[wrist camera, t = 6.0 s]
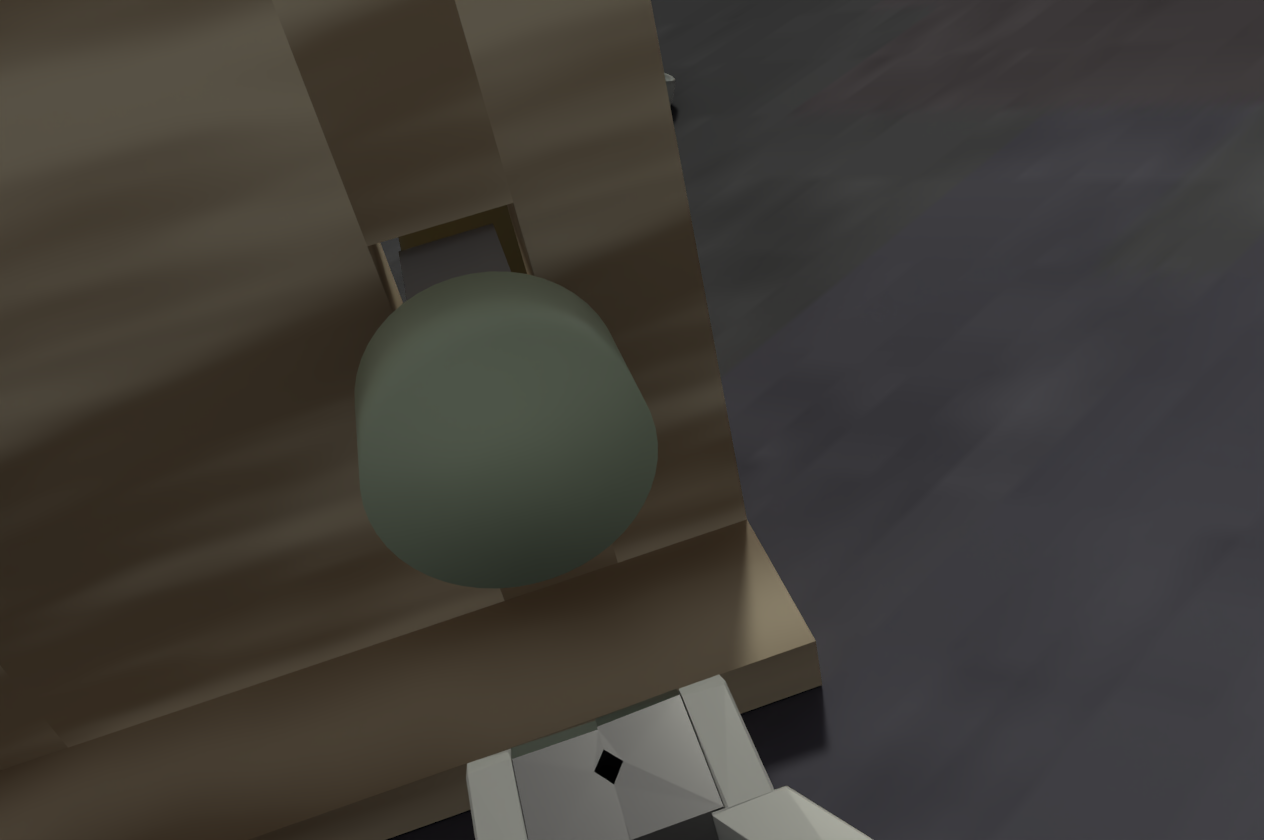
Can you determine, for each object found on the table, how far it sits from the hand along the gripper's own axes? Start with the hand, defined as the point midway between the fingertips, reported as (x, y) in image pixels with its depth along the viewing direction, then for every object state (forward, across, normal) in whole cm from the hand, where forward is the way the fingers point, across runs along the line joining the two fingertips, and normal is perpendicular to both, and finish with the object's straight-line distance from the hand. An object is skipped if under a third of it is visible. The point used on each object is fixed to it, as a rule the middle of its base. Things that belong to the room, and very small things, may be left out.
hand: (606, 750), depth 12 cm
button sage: (+9, 0, +2) cm, 9 cm away
